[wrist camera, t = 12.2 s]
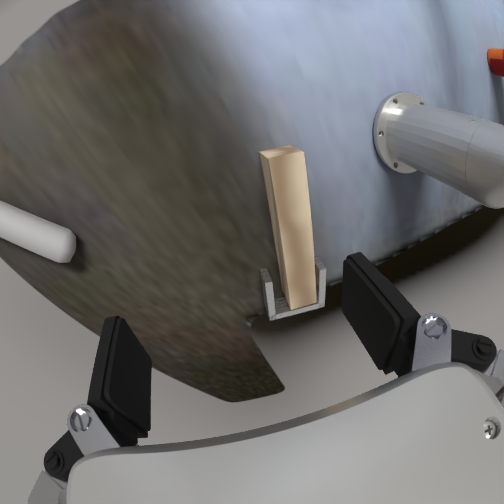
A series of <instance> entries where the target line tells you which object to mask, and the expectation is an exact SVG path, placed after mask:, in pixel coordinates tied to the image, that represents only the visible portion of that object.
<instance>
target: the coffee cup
mask: <svg viewBox="0 0 504 504" xmlns="http://www.w3.org/2000/svg"><path fill="white" fill-rule="evenodd" d="M487 59H488V63H489V66H490V69H491V70H492V72H493V73H494V74H496V75H499V76H503V77H504V49H489V50H488V52H487Z"/></svg>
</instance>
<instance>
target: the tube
mask: <svg viewBox="0 0 504 504" xmlns="http://www.w3.org/2000/svg"><path fill="white" fill-rule="evenodd" d="M0 237H1V238H3V239H5V240H8V241H10V242H12V243H14V244H16V245H18V246H21V247H23V248H25V249H27V250H30V251H32V252H34V253H36V254H39V255H41V256H43V257H46V258H48V259H51V260H53V261H55V262H58V263H66V262H70V261H71V259H72V257H73V255H74V253H75V251H76V236H75V235H74V234H73V232H72V231H71V230H69V229H67V228H65V227H62V226H60V225H57V224H55V223H52V222H50V221H47V220H45V219H42V218H40V217H37V216H35V215H33V214H30V213H28V212H26V211H23V210H21V209H19V208H16V207H14V206H12V205H9V204H7V203H5V202H2V201H0Z"/></svg>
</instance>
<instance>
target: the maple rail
mask: <svg viewBox="0 0 504 504" xmlns="http://www.w3.org/2000/svg"><path fill="white" fill-rule="evenodd" d="M259 155H260V160H261V165H262V171H263V176H264V182H265V188H266V193H267V199H268V205H269V211H270V216H271V222H272V228H273V234H274V240H275V247H276V253H277V259H278V265H279V272H280V278H281V285H282V291H283V293H284V295H285V297H286V300H287V302H288V304H289V306H290V309H291V310H293V309H296V308H300V307H303V306H306V305H310V304H313V303H316V302H317V301H316V279H315V262H314V248H313V234H312V223H311V212H310V201H309V192H308V182H307V174H306V165H305V157H304V152H302V151H300V150H298V149H296V148H294V147H292V146H285V147H279V148H274V149H269V150H264V151H259Z"/></svg>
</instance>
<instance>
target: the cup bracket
mask: <svg viewBox="0 0 504 504" xmlns="http://www.w3.org/2000/svg"><path fill="white" fill-rule="evenodd" d="M314 262H315V279H316V301H317V302H316V303H313V304H310V305H306V306H303V307H300V308H296V309H293V310H291V309H290V306H289V304H288V302H287V300H286V297H281V298H277V299H274V294H273V285H272V280H271V278H270V275H269V273H268V271H267V268H262V269H260V275H261V283H262V290H263V297H264V304H265V308H266V311H267V314H268V317H269V320H275V319H279V318H282V317H287V316H291V315H295V314H298V313H302V312H306V311H309V310H313V309H317V308H321V307H324V305H325V285H326V268H325V266H324V265H323V264H322V262H321V261H320V259H319V258H318V257H317V256H315V257H314Z"/></svg>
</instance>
